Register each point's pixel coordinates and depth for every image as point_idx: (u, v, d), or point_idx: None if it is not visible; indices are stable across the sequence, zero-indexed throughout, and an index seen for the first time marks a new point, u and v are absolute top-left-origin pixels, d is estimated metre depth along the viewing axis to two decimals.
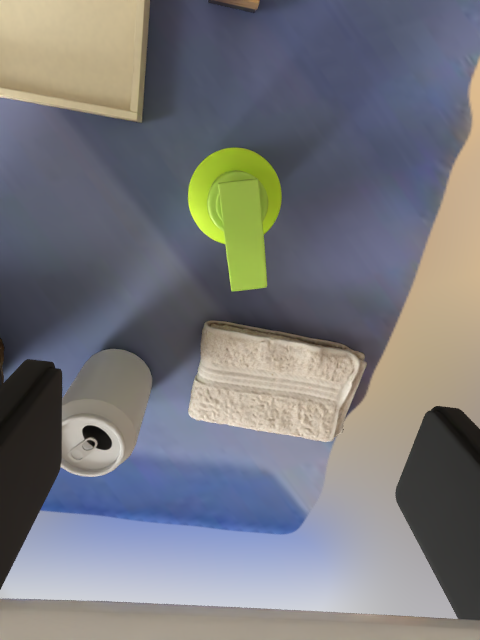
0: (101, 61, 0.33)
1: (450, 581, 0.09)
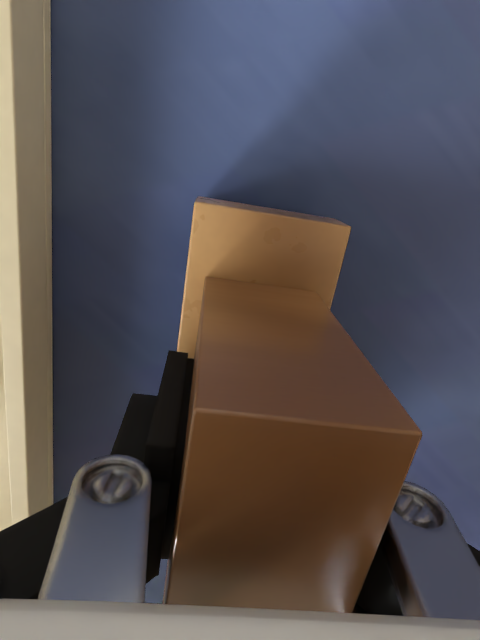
0: None
1: None
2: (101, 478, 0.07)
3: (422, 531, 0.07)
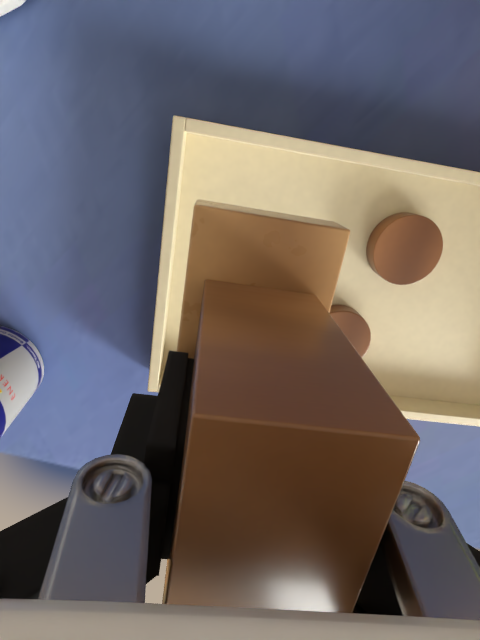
0: None
1: None
2: (101, 478, 0.07)
3: (422, 531, 0.07)
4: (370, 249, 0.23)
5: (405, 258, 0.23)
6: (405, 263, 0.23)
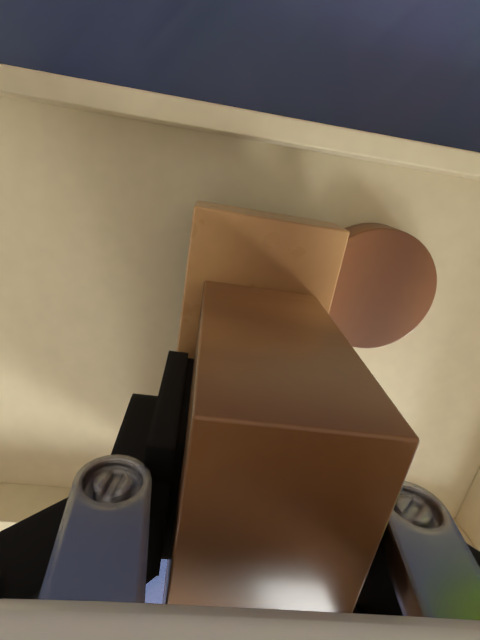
0: (477, 270, 0.14)
1: None
2: (101, 478, 0.07)
3: (422, 531, 0.07)
4: None
5: (371, 305, 0.13)
6: (372, 312, 0.13)
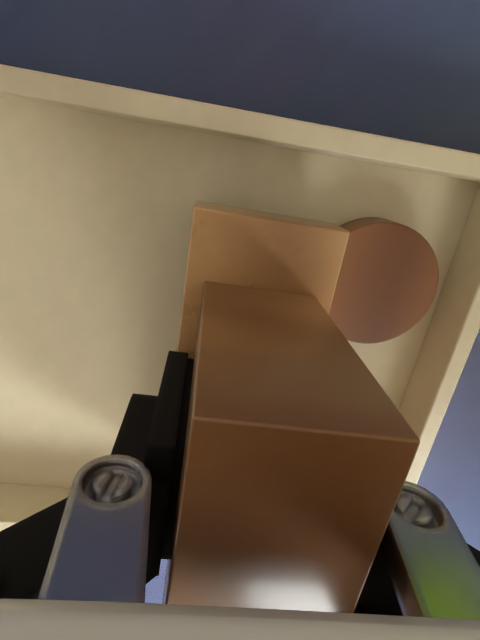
0: None
1: None
2: (101, 478, 0.07)
3: (422, 531, 0.07)
4: None
5: (372, 299, 0.13)
6: (373, 307, 0.13)
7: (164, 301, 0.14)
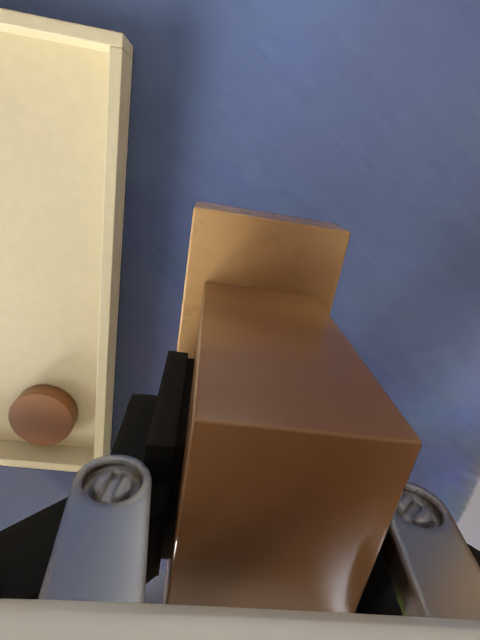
0: None
1: None
2: (101, 478, 0.07)
3: (422, 531, 0.07)
4: (36, 390, 0.26)
5: (33, 419, 0.26)
6: (29, 420, 0.26)
7: (14, 314, 0.24)
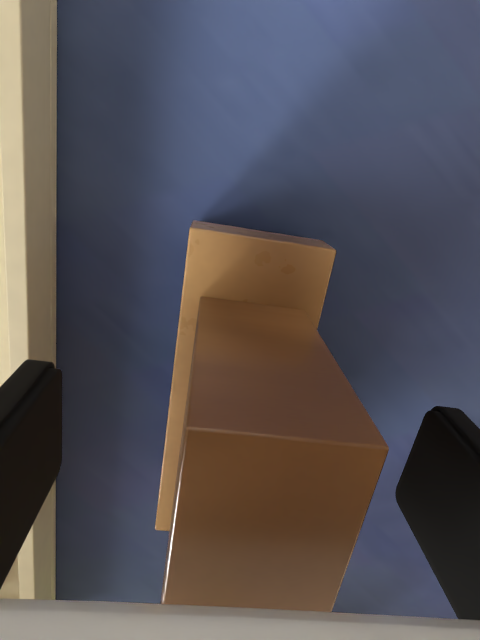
0: None
1: (449, 581, 0.09)
2: None
3: None
4: None
5: None
6: None
7: None
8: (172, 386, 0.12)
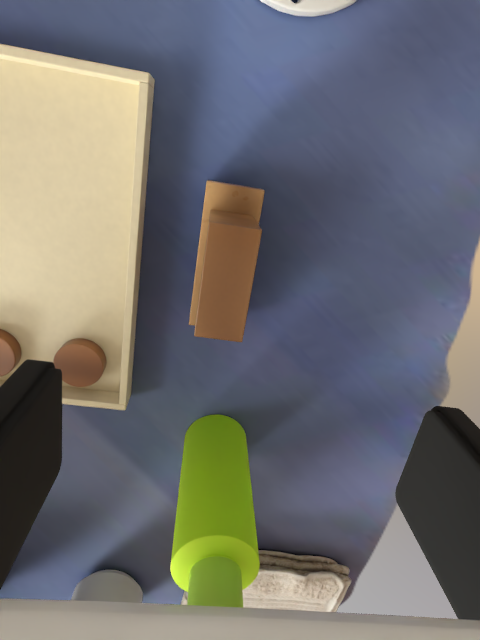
0: None
1: (449, 581, 0.09)
2: None
3: None
4: (75, 341, 0.33)
5: (72, 365, 0.33)
6: (69, 366, 0.33)
7: (60, 281, 0.32)
8: (198, 250, 0.29)
